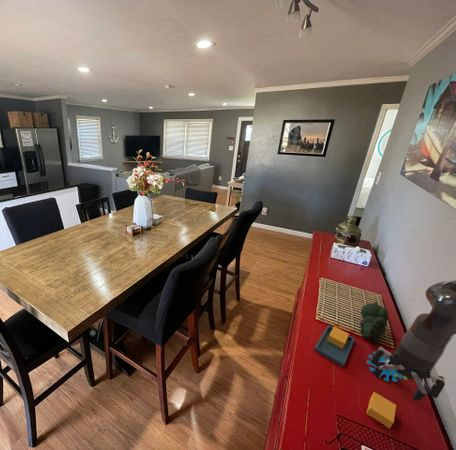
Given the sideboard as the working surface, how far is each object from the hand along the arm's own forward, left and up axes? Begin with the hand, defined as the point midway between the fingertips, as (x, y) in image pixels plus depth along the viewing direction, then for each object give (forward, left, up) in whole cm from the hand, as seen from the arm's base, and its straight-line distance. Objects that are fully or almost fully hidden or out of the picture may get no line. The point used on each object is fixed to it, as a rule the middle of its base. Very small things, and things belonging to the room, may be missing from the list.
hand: (395, 386), depth 73 cm
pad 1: (+17, -23, -12) cm, 31 cm away
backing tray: (+17, -19, -13) cm, 28 cm away
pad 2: (0, 0, -13) cm, 13 cm away
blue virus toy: (+1, -18, -13) cm, 22 cm away
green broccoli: (+8, -41, -13) cm, 44 cm away
